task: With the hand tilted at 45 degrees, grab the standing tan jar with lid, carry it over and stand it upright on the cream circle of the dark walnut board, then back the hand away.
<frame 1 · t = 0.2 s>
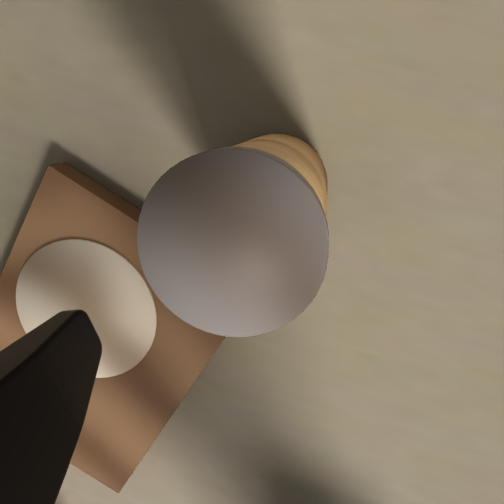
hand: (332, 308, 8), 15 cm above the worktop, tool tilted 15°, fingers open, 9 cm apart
walnut board: (100, 334, 27), on the worktop
tan jar with lid: (276, 185, 23), on the worktop
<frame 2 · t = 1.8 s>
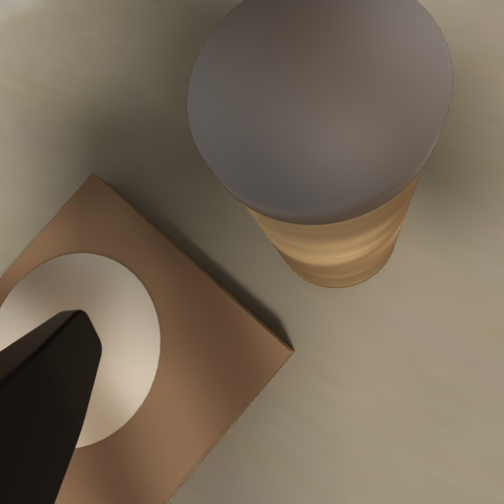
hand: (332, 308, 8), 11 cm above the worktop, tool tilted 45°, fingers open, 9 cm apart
walnut board: (76, 396, 20), on the worktop
tan jar with lid: (335, 229, 20), on the worktop
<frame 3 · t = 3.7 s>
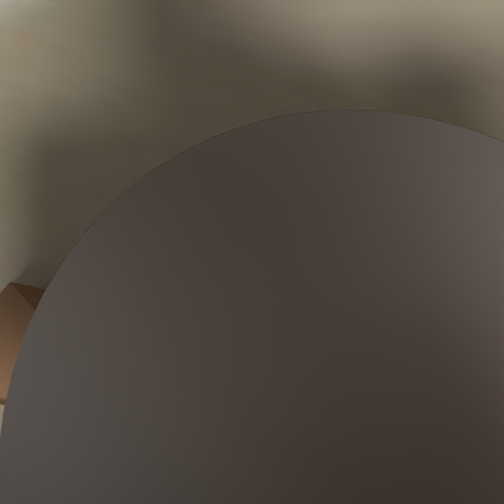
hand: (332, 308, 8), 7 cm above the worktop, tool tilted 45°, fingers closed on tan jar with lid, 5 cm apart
tan jar with lid: (347, 374, 14), on the worktop, touching gripper
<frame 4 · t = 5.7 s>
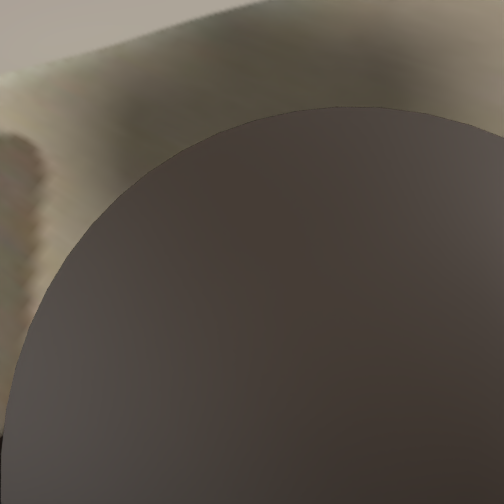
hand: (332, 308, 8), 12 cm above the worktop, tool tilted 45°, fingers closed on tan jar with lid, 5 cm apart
tan jar with lid: (348, 373, 14), point 6 cm above the worktop, touching gripper
when the fingers open (9 cm above the worktop, at t = 7.5 s): tan jar with lid stays where it is, resting on walnut board.
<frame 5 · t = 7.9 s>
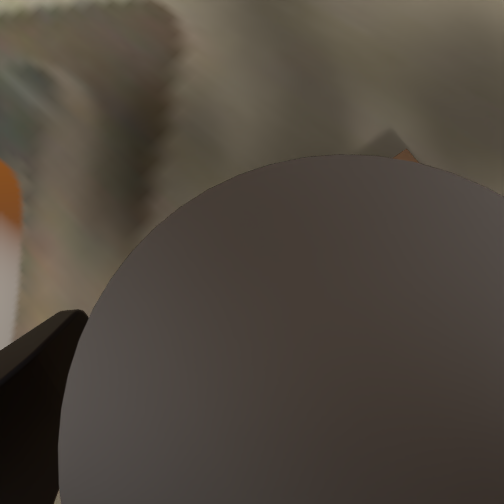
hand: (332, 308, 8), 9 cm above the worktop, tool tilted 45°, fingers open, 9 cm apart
tan jar with lid: (348, 374, 14), point 2 cm above the worktop, touching walnut board
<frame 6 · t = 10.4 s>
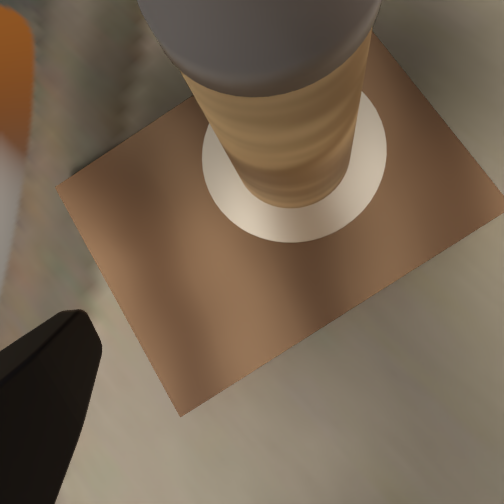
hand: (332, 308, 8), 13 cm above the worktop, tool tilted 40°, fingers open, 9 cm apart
walnut board: (269, 205, 21), on the worktop
tan jar with lid: (291, 152, 20), point 2 cm above the worktop, touching walnut board
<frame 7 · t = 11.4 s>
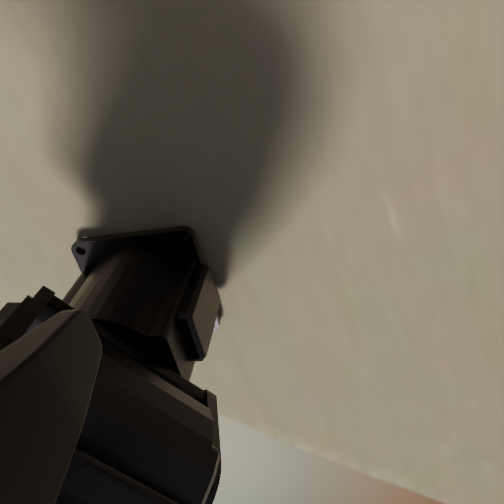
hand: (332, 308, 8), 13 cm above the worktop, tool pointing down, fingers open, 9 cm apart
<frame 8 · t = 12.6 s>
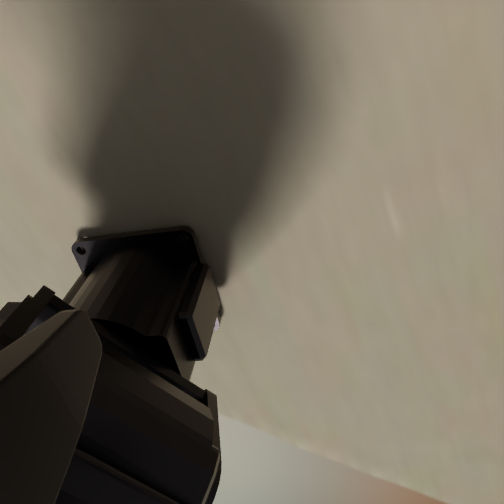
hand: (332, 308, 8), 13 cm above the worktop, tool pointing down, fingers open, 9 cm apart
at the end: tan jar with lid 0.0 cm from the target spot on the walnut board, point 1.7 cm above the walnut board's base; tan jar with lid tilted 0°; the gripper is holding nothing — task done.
